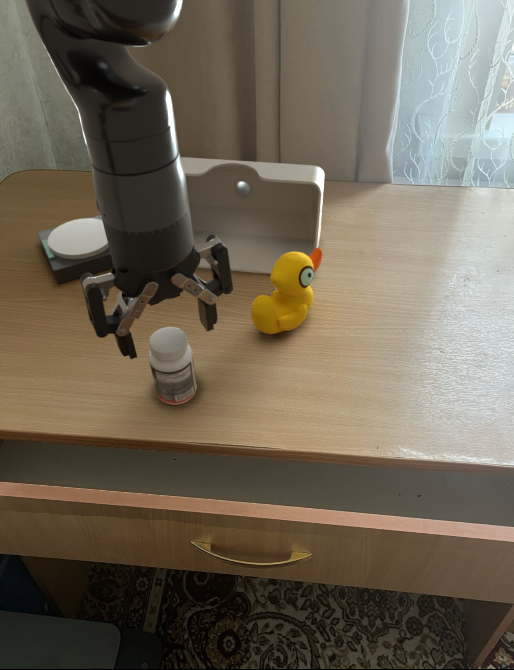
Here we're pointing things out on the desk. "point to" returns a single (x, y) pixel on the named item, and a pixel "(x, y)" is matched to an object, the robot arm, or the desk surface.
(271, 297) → the duckling
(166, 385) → the pill bottle
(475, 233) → the desk surface
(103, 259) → the scale
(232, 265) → the tank
